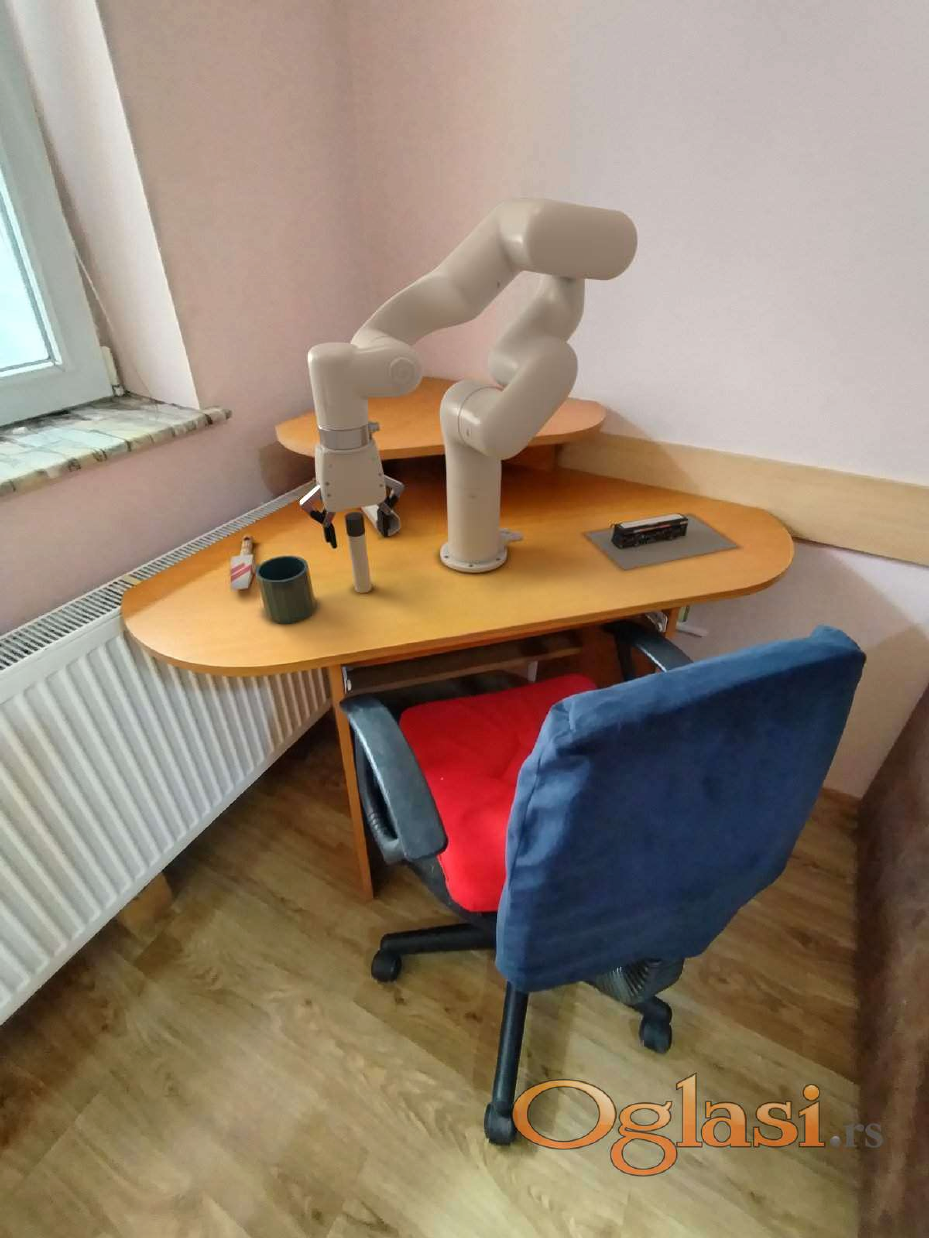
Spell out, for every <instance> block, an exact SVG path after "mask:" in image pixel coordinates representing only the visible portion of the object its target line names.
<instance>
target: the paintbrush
mask: <svg viewBox="0 0 929 1238" xmlns="http://www.w3.org/2000/svg"><path fill="white" fill-rule="evenodd" d="M241 542H242V543H241V548H240V553H239V555H236V556H235V555H233V556H231V557H230V591H235V590H243V589H248V588H249V586H250V583H251V582H252V579H253V576H254V574H255V573H256V572H255V571H256V569H257V565H256V563H255V558H254V554H252V549H253V544H254V537H253V536H252V535H251V534H245V535H243V537H242V541H241Z"/></svg>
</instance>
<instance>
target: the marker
mask: <svg viewBox="0 0 929 1238" xmlns="http://www.w3.org/2000/svg"><path fill="white" fill-rule="evenodd" d="M344 523H345V528H346V529H345V530H346V535H347V540H348V541H347V542H348V547H349V554H350V555H349V556H350V561H351V562H350V563H351V569H352V575H353V584H354V590H355V592H357V593H359V594H365V593H368V592H370V591H371V590H372V582H371V574H370V573H371V572H370V565H369V557H368V547H367V540H366V527H365V517H364V514H363V513H362V512H359V511H353V512H347V514H345V515H344Z"/></svg>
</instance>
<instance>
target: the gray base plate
mask: <svg viewBox="0 0 929 1238" xmlns="http://www.w3.org/2000/svg"><path fill="white" fill-rule="evenodd" d="M613 526H614V527H613ZM609 528H611V529H606V530H602V531H596V532H590V533H586V534H585V535H586V536H587V537H588V538H589V539H591V540H592V541H593V542H594V543H595V544H596V545H597V546H598V548H600V549H601V550H602V551H603V552H605V554H606V555H608V556H609V557H610V558H611V559H612V560H613V561H614V562H615V563H616V564H617V565H618V566H620V567H621V569H622V570H630V569H635V568H636V569H637V568H640V567H645V566H651V565H655V564H659V563H664V562H669V561H671V562H672V561H675V560H680V559H685V558H690V557H694V556H700V555H705V554H710V553H714V552H715V553H716V552H719V551H725V550H730V549H735V548H738V546H737V545H736V544H734V543H733V542H731V540H728V539H727V538H725V537H724V536H723V535H721V534H720V533H719V532H717V531H716V530H714V529H712V528H711V527H709V526H708V525H707V524H705V523H704V522H702V521H701V520H699V518H697V517H695V516H694V515H692V514H691V515H683V513H682V514H681V513H680V512H676V513H670V514H665V515H659V516H653V517H649V518H641V519H636V520H631V521H624V522H620V523H611V524H610V527H609Z"/></svg>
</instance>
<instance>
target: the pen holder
mask: <svg viewBox="0 0 929 1238" xmlns="http://www.w3.org/2000/svg"><path fill="white" fill-rule="evenodd" d="M254 573H255V576H256V580H257V584H258V588H259V592H260V596H261V600H262V604H263V607H264V612H265V615H266V617H267V619H268V620H269V621H271V622H274V623H276V624H283V625H284V624H294V623H298V622H301V621H304V620H306V619H308V618H309V617H310V616H312V614H313V613H314V612H315V610H316V601H315V600H316V599H315V594H314V589H313V584H312V579H311V575H310V574H311V573H310V568H309V564H308V561H307V560H306V559H304V558H302V557H301V556H295V555H280V556H275V557H271V558H268V559H267V560H265V561H263V562H261V563H260V564H259V565H257V566H256V570H255V572H254Z"/></svg>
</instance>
